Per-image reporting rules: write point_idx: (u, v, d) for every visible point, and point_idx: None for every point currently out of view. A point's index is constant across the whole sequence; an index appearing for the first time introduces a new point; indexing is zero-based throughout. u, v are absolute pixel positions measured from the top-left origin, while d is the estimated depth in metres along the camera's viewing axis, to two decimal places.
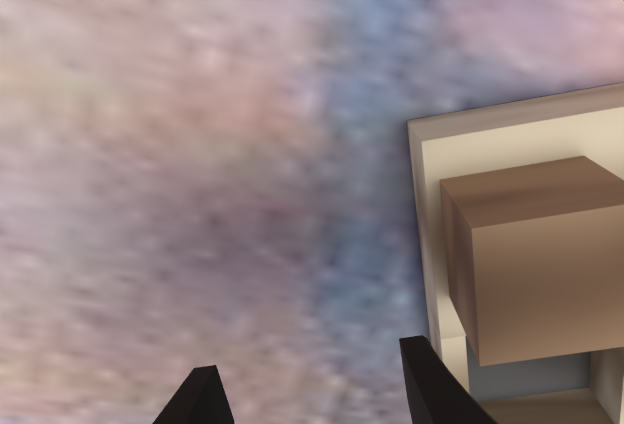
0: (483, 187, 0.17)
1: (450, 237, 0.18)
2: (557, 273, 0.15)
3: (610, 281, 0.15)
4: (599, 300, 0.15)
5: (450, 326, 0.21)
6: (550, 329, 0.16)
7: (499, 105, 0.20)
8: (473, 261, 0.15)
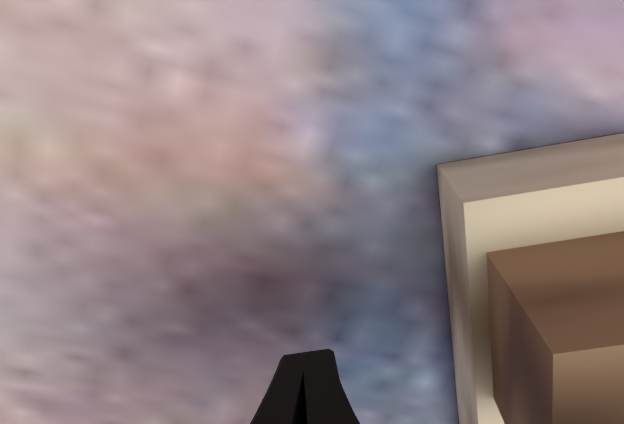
0: (552, 272, 0.12)
1: (502, 333, 0.13)
2: None
3: None
4: None
5: None
6: None
7: (559, 144, 0.15)
8: (551, 397, 0.10)
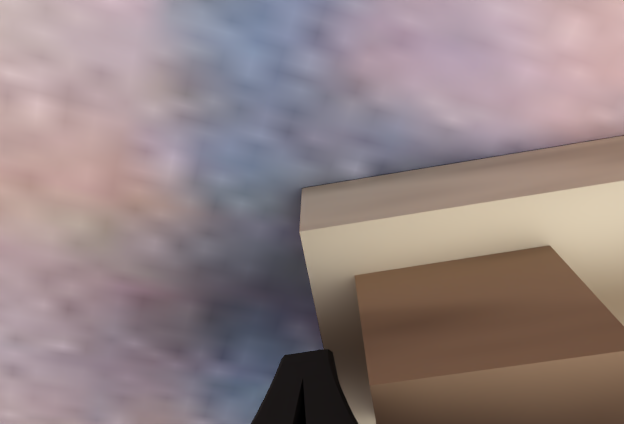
0: (405, 297, 0.12)
1: None
2: None
3: None
4: None
5: None
6: None
7: (420, 170, 0.15)
8: None
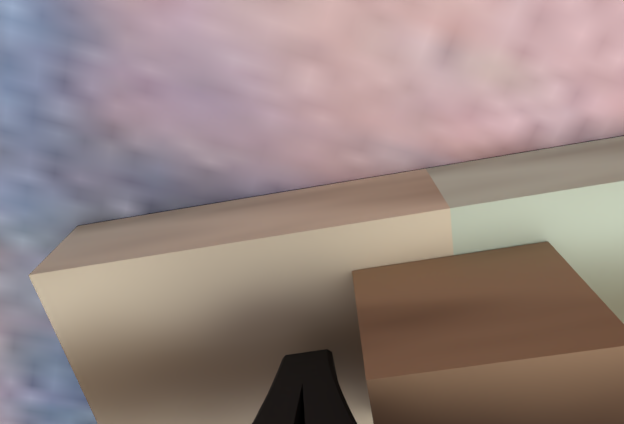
0: (402, 292, 0.12)
1: None
2: None
3: None
4: None
5: None
6: None
7: (186, 209, 0.16)
8: (373, 421, 0.10)
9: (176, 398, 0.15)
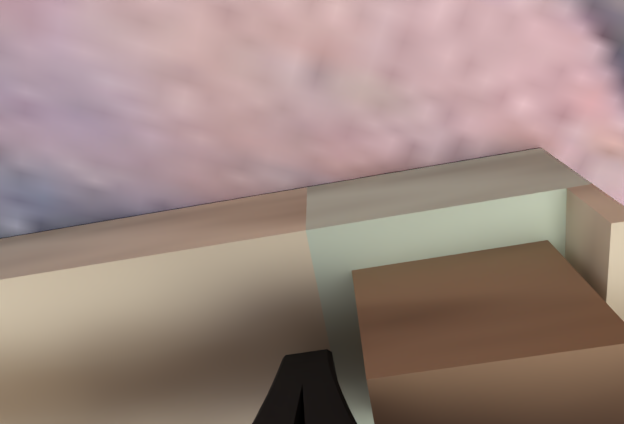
0: (402, 291, 0.12)
1: None
2: None
3: None
4: None
5: None
6: None
7: (75, 227, 0.16)
8: (374, 420, 0.10)
9: (60, 414, 0.15)
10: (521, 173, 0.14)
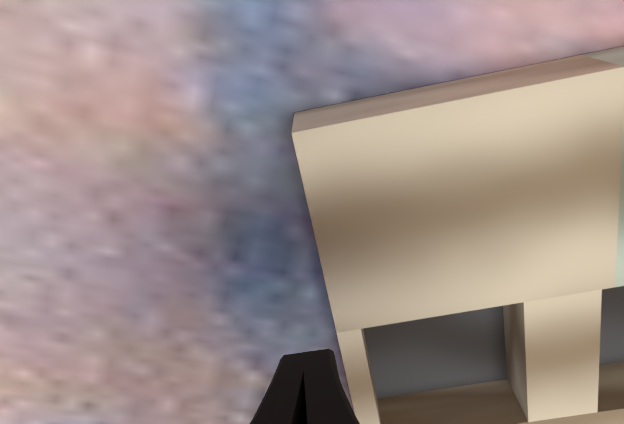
0: None
1: None
2: None
3: None
4: None
5: (344, 319, 0.20)
6: None
7: (385, 94, 0.20)
8: None
9: (387, 241, 0.19)
10: None
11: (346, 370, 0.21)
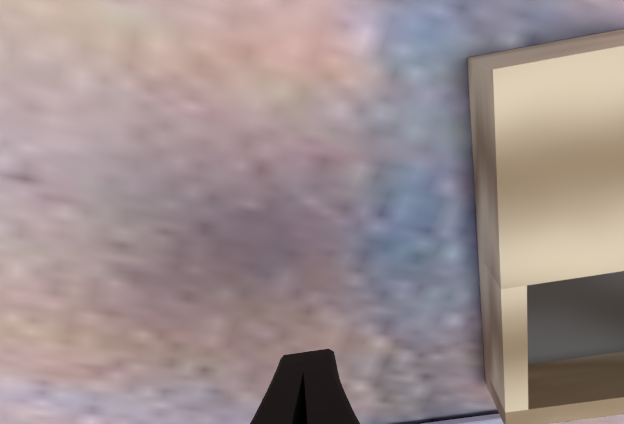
0: None
1: None
2: None
3: None
4: None
5: (511, 275, 0.20)
6: None
7: None
8: None
9: (572, 190, 0.18)
10: None
11: (503, 330, 0.21)
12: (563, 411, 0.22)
